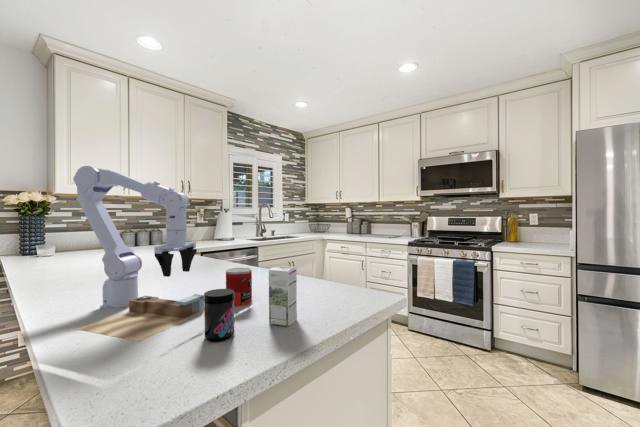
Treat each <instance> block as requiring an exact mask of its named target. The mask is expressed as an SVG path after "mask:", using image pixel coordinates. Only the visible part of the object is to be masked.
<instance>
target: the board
mask: <svg viewBox="0 0 640 427" xmlns="http://www.w3.org/2000/svg"><path fill="white" fill-rule="evenodd" d="M203 313H204V311H203V312H200V313H197V312H192V314H191V315H189V316H187V317H185V318H177V317H170V316H164V315H157V314H150V313H143V314H141V313H134V312H129V310H128V311H125V312H122V313H120V314H117V315H113V316H110V317H107V318H105V319H102V320H98V321H96V322H92V323H90V324H86V325H84V326H80V327H78V328H76V330H79V331H84V332H89V333H94V334H97V335H98V334H99V335H103V336H110V337H114V338H119V339H123V340H124V339H125V340H130V341H134V342H142V341H144V340H146V339H147V338H150V337H152V336H154V335H157V334H159V333H161V332H164V331H165V330H167V329H170V328H172V327H174V326H177V325H178V324H181V323H183V322H185V321H188V320H190V319H192V318H194V317H197V316H198V315H201V314H203Z"/></svg>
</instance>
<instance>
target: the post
mask: <svg viewBox="0 0 640 427" xmlns="http://www.w3.org/2000/svg"><path fill="white" fill-rule="evenodd" d="M143 296H144V297H143ZM143 296H140V298H139V297H138V298H139V301H145V300H148V297H147V296H148V295H143Z"/></svg>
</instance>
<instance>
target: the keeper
mask: <svg viewBox="0 0 640 427" xmlns="http://www.w3.org/2000/svg"><path fill="white" fill-rule="evenodd" d="M176 301H177V304H178V305H187V304H190V303H192V312H197V313H200V312H203V311H204V294H197V293H196V294H194V295H191V296H188V297H185V298H181V299H180V300H176ZM203 313H204V312H203Z"/></svg>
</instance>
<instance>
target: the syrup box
mask: <svg viewBox="0 0 640 427" xmlns="http://www.w3.org/2000/svg"><path fill="white" fill-rule="evenodd" d="M297 279H298V278H297V267H296V266H286V265H285V266H284V265H281V266H280V265H276V266H273V267H271V268H270V269H268V324H269V325H273V326H281V327H285V328H286V327H287V328H288V327H290V326H292V325H293V324H294V323H295V322H297V320H298V313H297V312H298V310H297V309H298V307H297V306H298V305H297V304H298V303H297V293H298V292H297V289H298V288H297V281H298V280H297Z"/></svg>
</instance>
